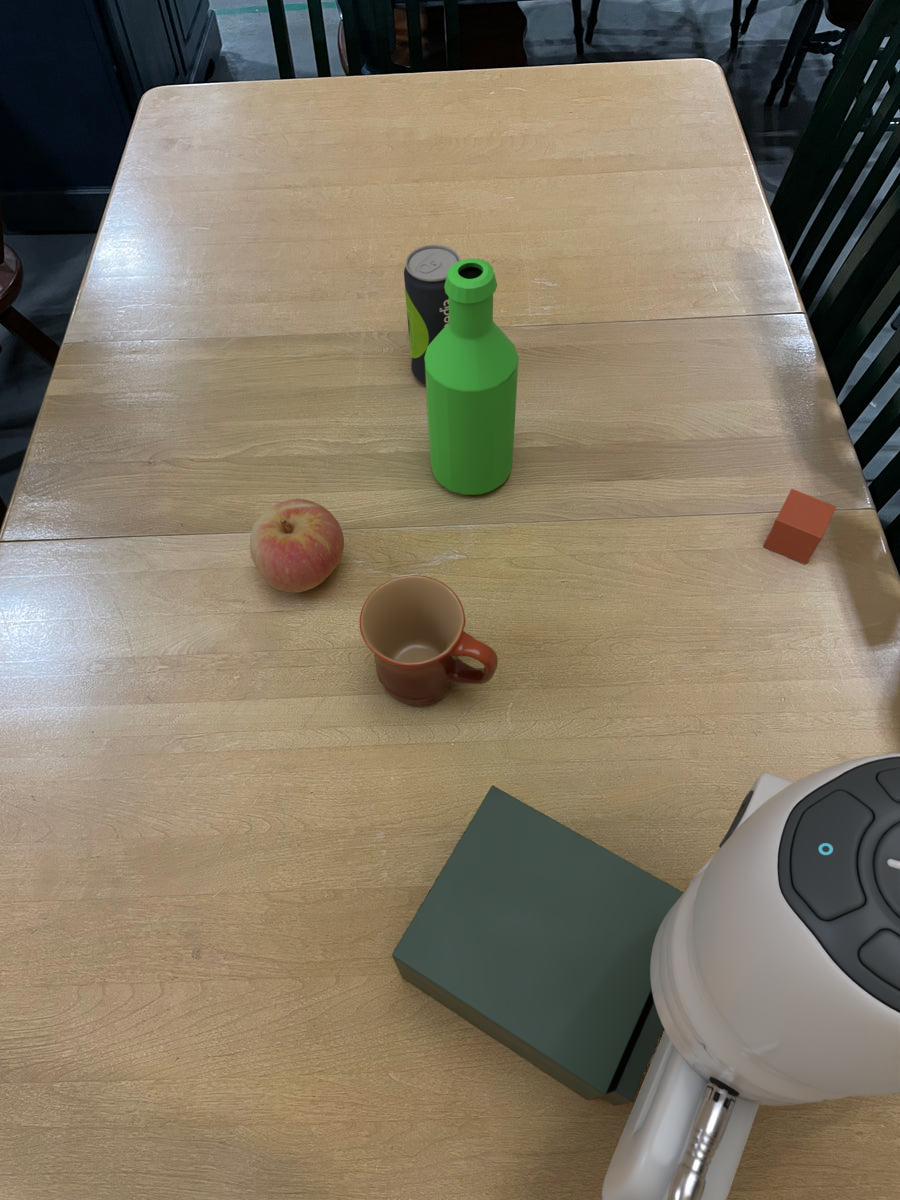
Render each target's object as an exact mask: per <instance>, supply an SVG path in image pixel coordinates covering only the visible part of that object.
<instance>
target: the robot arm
mask: <svg viewBox="0 0 900 1200" xmlns="http://www.w3.org/2000/svg"><path fill="white" fill-rule="evenodd" d="M718 847H719V849H718V850H717V851H716V853H714V855H713V856H711V857H710V858H709V859H708V860H707V861H706V862H705V863H704V864H703V865H702V866H701V867H700V869H698V870H697V872H696V873H695V875H693V876H692V878H691V879H690V881H689V884H688V886H687V888H686V889H685V891H683V892H684V893H683V894H682V896H681V897H680V898H679V899H678V900H677V902H676V903H675V904H674V905H673V907H672V908H671V909H670V910H669V912H668V913H667V915H666V916H665V918H664V919H663V921H662V923H661V925H660V927H659V929H658V932H657V934H656V937H655V941H654V944H653V949H652V954H651V964H650V979H651V988H652V994H653V998H654V1003H655V1006H656V1009H657V1013H658V1015H659V1018H660V1020H661V1023H662V1025H663V1027H664V1028H663V1030H664V1031H663V1032H662V1034H661V1038H660V1039H659V1043H658V1044H657V1048H656V1050H655V1051H654V1052H655V1053H654V1054H655V1055H654V1057H653V1060H652V1062H651V1064H650V1065H649V1067H648V1068H647V1072H646V1075H645V1076H644V1078H643V1079H644V1080H643V1082H642V1084H641V1087H640V1089H639V1091H638V1094H637V1096H636V1099H635V1101H634V1104H633V1106H632V1109H631V1111H630V1113H629V1115H628V1118H627V1121H626V1122H625V1123H626V1124H625V1126H624V1128H623V1130H622V1133H621V1136H620V1138H619V1141H618V1143H617V1146H616V1148H615V1150H614V1153H613V1155H612V1157H611V1160H610V1162H609V1164H608V1165H609V1166H608V1168H607V1170H606V1174H605V1176H604V1179H603V1184H602V1189H601V1200H727V1199H728V1196H729V1194H730V1191H731V1189H732V1185H733V1183H734V1182H733V1181H734V1180H735V1176H736V1174H737V1171H738V1168H739V1165H740V1163H741V1159H742V1156H743V1153H744V1150H745V1147H746V1145H747V1142H748V1140H749V1139H748V1138H749V1136H750V1133H751V1130H752V1127H753V1124H754V1121H755V1119H756V1115H757V1113H758V1110H759V1107H760V1105H763V1106H771V1107H772V1106H773V1107H783V1106H795V1105H803V1104H805V1105H806V1104H811V1103H821V1102H829V1101H838V1100H841V1099H844V1098H848V1097H851V1096H852V1097H879V1096H886V1095H894V1094H899V1093H900V752H889V753H882V754H876V755H875V754H874V755H869V756H864V757H858V758H854V759H850V760H848V761H844V762H840V763H837V764H833V765H830V766H828V767H825V768H822V769H820V770H817V771H815V772H812V773H810V774H807V775H805V776H804V777H801V778H799V779H798V780H795V781H793V780H790V779H788V778H785V777H783V776H779V775H777V774H773V773H771V772H767V771H765V772H763V773H761V774H760V775H759V776H757V778H756V779H755V780H754V782H753V784H752V785H751V787H750V789H749V791H748V792H747V794H746V795H745V797H744V799H743V800H742V802H741V804H740V806H739V808H738V811H737V813H736V814H735V817H734V818H733V821H732V822H731V824H730V827H729V829H728V830H727V832H726V833H725V834H724V837H723V838H722V840H721V841H720V843H719V845H718Z"/></svg>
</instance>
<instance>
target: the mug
mask: <svg viewBox="0 0 900 1200" xmlns="http://www.w3.org/2000/svg"><path fill="white" fill-rule="evenodd" d="M360 610H361V611H360V615H359V631H360V634H361V637H362V640H363V641H364V643H365V645H366V647H367V648H368V649H369V650H370V651H371V653H373V655H374V656H373V657H374V663H375V670H376V675H377V678H378V681H379V682H380V684H381V685H382V687H383V688H384V689H385V691H386V693H387V694H388V695H389V696H390V697H391V698H392V699H394V700H395V701H397V702H398V703H401V704H404V705H407V706H413V707H423V706H428V705H432V704H434V703H436V702H438V701H440V700H442V699H443V698H444V697H445V696H447V694H448V693H449V692H450V690H452V687H453V686H454V684H455V683H456V684H460V685H462V684H463V685H465V684H467V685H483V684H486V683H489V682H490V681H491V679H492V678H493V677H494V675H495V673H496V671H497V668H498V664H499V659H498V654H497V652H496V651H495V649H493V648H492V647H491V646H490V645H488V644H486V643H485V642H482V641H481V640H479V639H477V638H475V637H473V636H472V635H471V634H469V633H467V632H465V627H466V614H465V610H464V606H463V604H462V602H461V599H460V598H459V596H458V595H457V594H456V592H455V591H454V590H453V589H452V588H451V587H450V586H448V585H447V584H446V583H444V582H442V581H440V580H438V579H436V578H433V577H429V576H427V575H418V574H417V575H416V574H412V575H411V574H410V575H402V576H398V577H394V578H392V579H390V580H387V581H385V582H384V583H382V584H381V585H379V586H378V587H376V588H375V589H374V590H373V591H372V592H371V593H370V594H369V595H368V597H367V598H366V599H365V601H364V603H363V605H362V608H361V609H360ZM459 657H468V658H470V659H471V658H472V659H474V660H476V661H478V662H479V663H481V664H482V665H483V667H481V668H479V667H473V666H471V665H469V664H467V663H466V662H464V661H463V660H462V659H460V658H459Z"/></svg>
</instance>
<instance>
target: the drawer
mask: <svg viewBox="0 0 900 1200" xmlns="http://www.w3.org/2000/svg"><path fill="white" fill-rule="evenodd" d="M663 1030H664V1027H663V1025H662V1023H661V1020H660V1018H659V1015H658V1013H657V1009H656V1006H655V1003H654V998H653V994H652V989H651V992H650V994H649V996H648V999H647V1001H646V1003H645V1005H644V1008H643V1010H642V1012H641V1015H640V1017H639V1019H638V1022H637V1024H636V1026H635V1028H634V1031H633V1033H632V1035H631V1038H630V1040H629V1042H628V1044H627V1047H626V1049H625V1051H624V1054H623V1056H622V1058H621V1060H620V1063H619V1065H618V1067H617V1070H616V1072H615V1074H614V1076H613V1079H612V1081H611V1083H610V1086H609V1088H608V1090H607V1092H606V1094H605V1095H603V1096H600V1098H601V1099H603V1100H605V1101H606V1102H608V1104H611V1105H612V1106H618V1105H625V1104H630V1103H633V1102H634V1100H635V1097H636V1095H637V1092H638V1090H639V1087H640V1085H641V1083H642V1080H643V1079H644V1077H645V1073H646V1071H647V1070H648V1066H649V1064H650V1065H651V1062H652V1060H653V1057H654V1055H655V1053H654V1052H655V1051H656V1050H655V1049H656V1047H657V1046H658V1042H659V1041H660V1039H661V1038H660V1037H661V1036H662V1034H663V1032H664V1031H663Z"/></svg>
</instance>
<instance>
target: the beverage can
mask: <svg viewBox="0 0 900 1200" xmlns="http://www.w3.org/2000/svg"><path fill="white" fill-rule="evenodd" d="M461 260H462V259H461V257H460V255H459V253H458V252H457V251H455V250H454V248H451V247H449V246H446V245H442V244H427V245H422V246H420V247H417V248H415V249H413V250H412V251H411V252H409V254H408V255H407V257H406V259H405V266H404V269H403V270H404V271H403V281H404V293H405V294H404V295H405V305H406V306H405V307H406V318H407V319H406V320H407V331H408V343H409V355H410V356H409V357H410V367H411V372H412V375H413V377H414V378H416V379H417V380H418V381H419V382H421V383H422V384H424V385H426V374H425V360H424V357H425V353H426V350H427V347H428V345H429V344H430V343H431V342H432V341H433V340H434V338H435V337H436V336H437V335H438V334H439V333H440V332H441V331H442V330H443V328H444V327H445V326H446V325H447V324H448V323H449V296H448V295H447V294H446V293H445V288H444V286H445V282H446V277H447V273H448V270H449V268H450V267H451V266H452V265H453V264H455V263H457V262H458V261H461Z"/></svg>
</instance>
